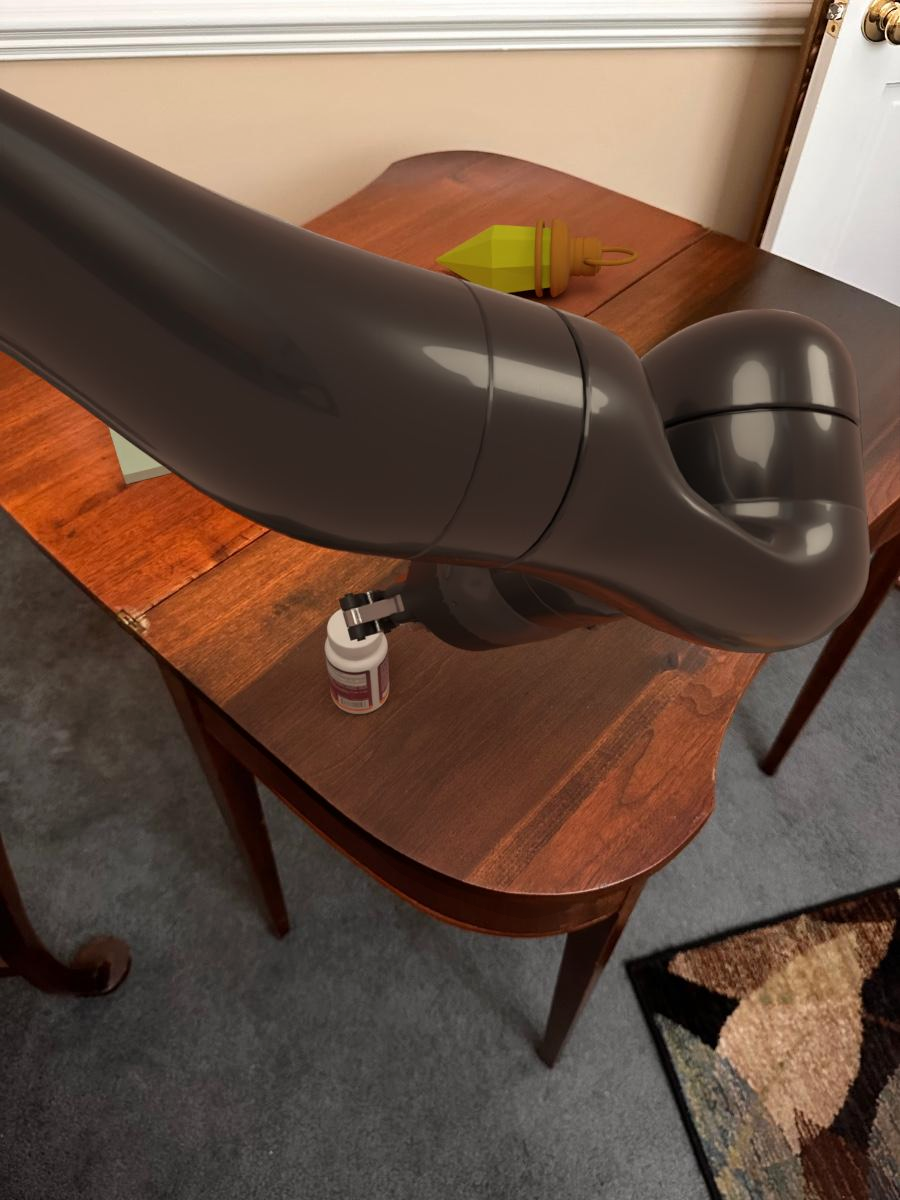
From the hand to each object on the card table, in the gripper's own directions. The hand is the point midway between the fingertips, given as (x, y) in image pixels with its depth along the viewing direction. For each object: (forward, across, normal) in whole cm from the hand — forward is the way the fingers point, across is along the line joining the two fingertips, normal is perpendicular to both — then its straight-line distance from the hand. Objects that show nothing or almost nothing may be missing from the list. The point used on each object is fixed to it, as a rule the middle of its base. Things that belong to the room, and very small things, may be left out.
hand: (393, 610), depth 58 cm
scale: (+35, -4, +24) cm, 43 cm away
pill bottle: (+13, 0, -5) cm, 14 cm away
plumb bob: (+36, +43, +35) cm, 67 cm away
